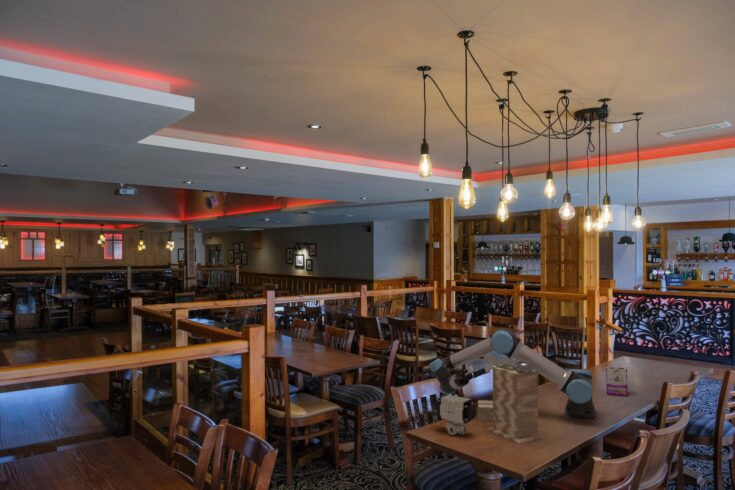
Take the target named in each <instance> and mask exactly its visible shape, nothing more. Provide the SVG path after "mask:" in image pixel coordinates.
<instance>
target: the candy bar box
mask: <svg viewBox="0 0 735 490" xmlns="http://www.w3.org/2000/svg"><path fill="white" fill-rule="evenodd" d="M605 379H606V380H605V381H606V386H605V387H606V395H608V396H617V397H628V396H629V395H628V393H629V391H628V388H629V387H628V368H627V367H626V366H617V365H615V366H614V365H606V366H605Z"/></svg>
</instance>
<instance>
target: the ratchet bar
mask: <svg viewBox="0 0 735 490" xmlns="http://www.w3.org/2000/svg"><path fill="white" fill-rule="evenodd" d="M484 363H486V364H488V365H489V364H492V365H494V366H496V364H497V363H499V364H503V365H506V366H510V367H514V371H516V372H518V373H523V374H530V373H532V370H533V369H532V363H531V362H525V361H519V360H517V359H515V358H513V359H511V358H508V357H507V356H504V355H500V354H496V353H495V354H494V353H489V354H485V355H484Z"/></svg>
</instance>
